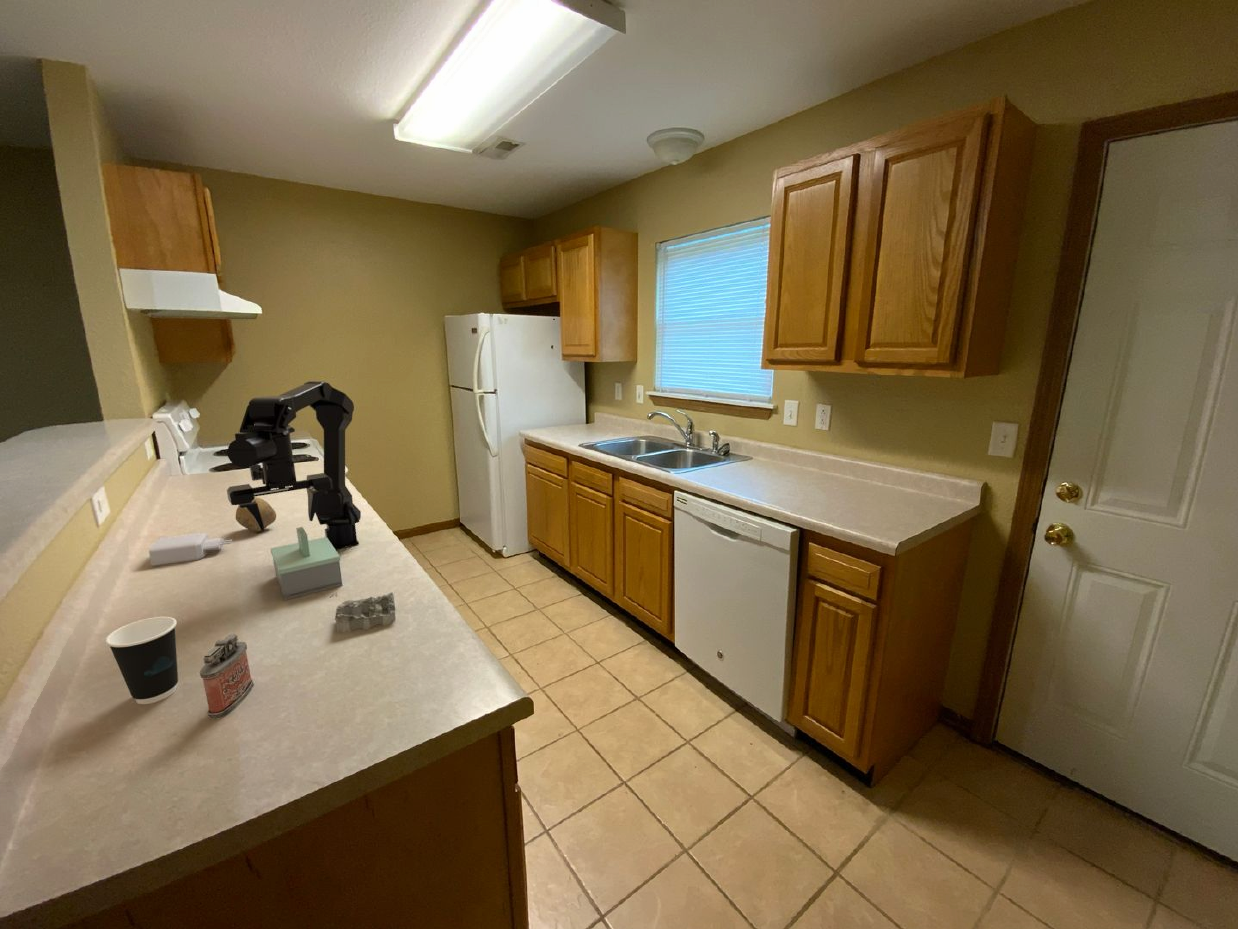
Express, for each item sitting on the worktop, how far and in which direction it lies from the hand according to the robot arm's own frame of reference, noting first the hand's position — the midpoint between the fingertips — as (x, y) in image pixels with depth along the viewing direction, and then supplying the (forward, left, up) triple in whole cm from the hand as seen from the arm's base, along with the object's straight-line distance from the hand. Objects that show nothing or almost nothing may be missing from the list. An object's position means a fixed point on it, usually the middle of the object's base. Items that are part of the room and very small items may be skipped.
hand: (287, 525), depth 114 cm
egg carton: (-8, +28, -14) cm, 32 cm away
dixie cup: (+23, +31, -13) cm, 41 cm away
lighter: (+14, +40, -13) cm, 45 cm away
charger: (+17, -32, -14) cm, 38 cm away
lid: (-2, +2, -8) cm, 9 cm away
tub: (-2, +2, -13) cm, 14 cm away
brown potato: (+4, -42, -13) cm, 44 cm away
